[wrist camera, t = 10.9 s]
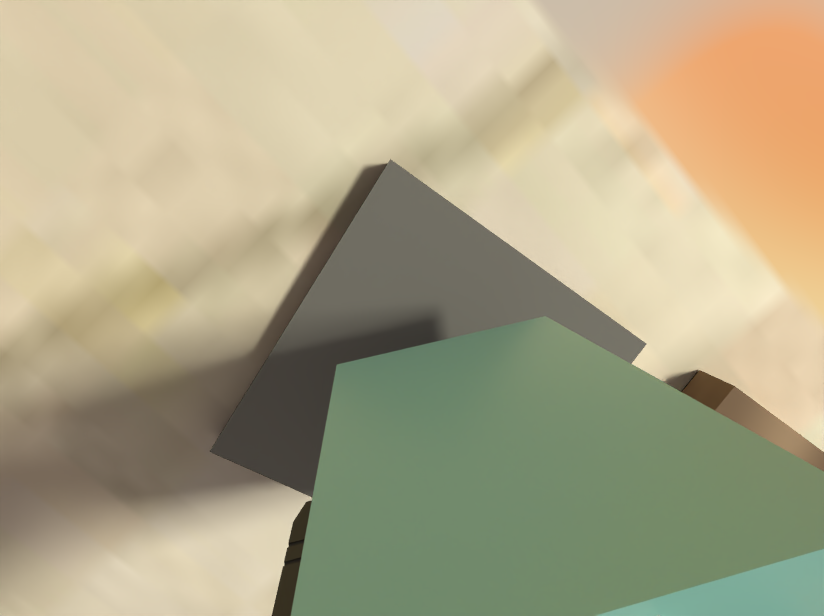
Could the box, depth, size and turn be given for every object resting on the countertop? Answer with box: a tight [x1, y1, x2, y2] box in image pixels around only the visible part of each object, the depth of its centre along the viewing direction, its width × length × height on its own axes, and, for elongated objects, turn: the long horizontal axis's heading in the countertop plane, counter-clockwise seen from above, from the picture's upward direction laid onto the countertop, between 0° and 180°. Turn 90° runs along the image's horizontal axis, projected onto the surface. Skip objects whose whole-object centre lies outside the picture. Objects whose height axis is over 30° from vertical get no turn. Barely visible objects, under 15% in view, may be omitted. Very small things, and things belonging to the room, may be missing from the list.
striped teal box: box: [291, 316, 824, 616], centre depth 7 cm, size 6×6×7 cm
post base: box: [682, 370, 824, 471], centre depth 14 cm, size 12×12×7 cm
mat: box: [210, 159, 646, 497], centre depth 14 cm, size 11×11×1 cm
